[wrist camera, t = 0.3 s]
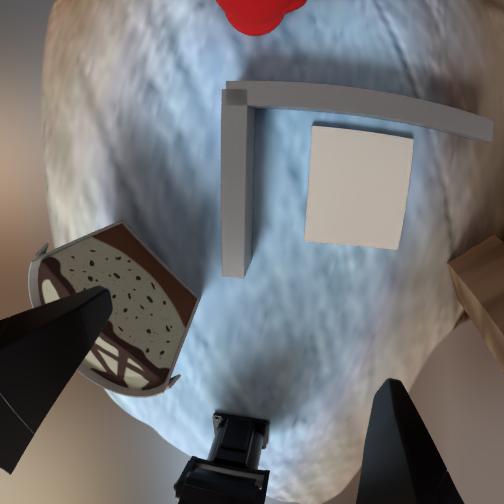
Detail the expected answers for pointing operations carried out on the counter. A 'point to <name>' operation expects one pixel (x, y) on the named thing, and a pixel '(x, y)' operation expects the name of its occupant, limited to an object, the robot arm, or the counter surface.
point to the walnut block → (483, 290)
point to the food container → (121, 307)
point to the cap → (257, 14)
